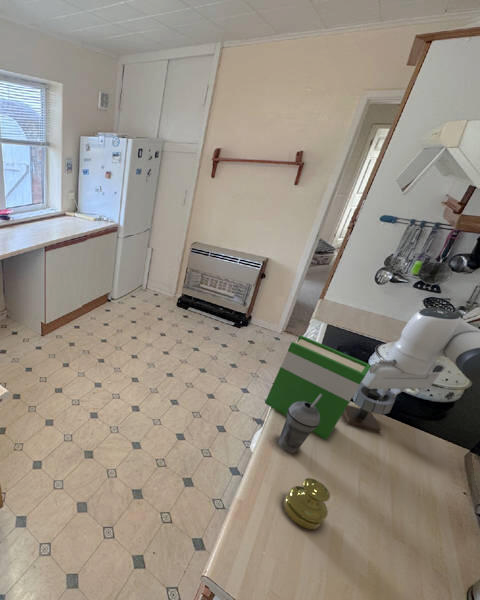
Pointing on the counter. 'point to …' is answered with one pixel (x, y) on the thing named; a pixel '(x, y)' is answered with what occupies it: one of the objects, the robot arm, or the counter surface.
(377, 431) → the peg stand
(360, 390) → the grey faceted ring
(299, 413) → the beverage cup
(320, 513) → the brass knobbed weight
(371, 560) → the counter surface
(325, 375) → the hardback book
